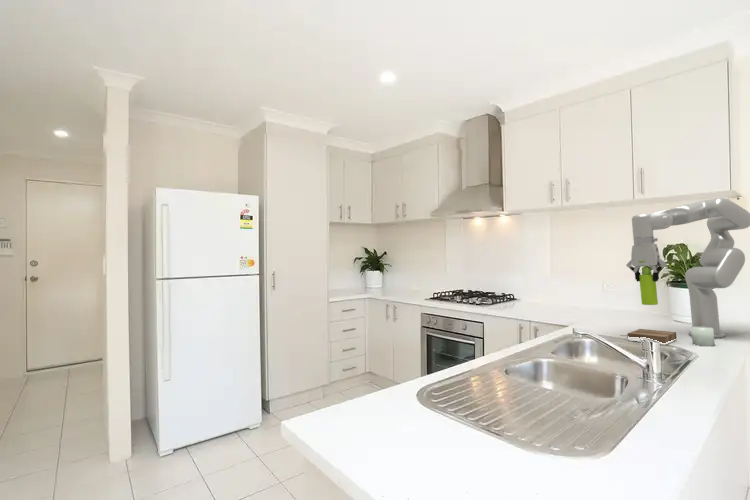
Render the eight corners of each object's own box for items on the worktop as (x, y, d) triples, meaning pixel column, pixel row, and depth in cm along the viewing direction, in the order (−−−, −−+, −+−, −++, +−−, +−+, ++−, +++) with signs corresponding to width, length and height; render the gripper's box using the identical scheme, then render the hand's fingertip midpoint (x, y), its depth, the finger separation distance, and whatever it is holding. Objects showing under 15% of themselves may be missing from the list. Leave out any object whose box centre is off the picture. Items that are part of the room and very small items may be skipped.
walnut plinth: (640, 336, 179) (639, 328, 179) (676, 340, 167) (676, 332, 168) (628, 341, 171) (627, 333, 171) (665, 345, 159) (664, 337, 159)
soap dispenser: (637, 304, 171) (633, 260, 172) (646, 303, 174) (642, 260, 175) (651, 305, 166) (647, 260, 166) (660, 303, 168) (656, 259, 169)
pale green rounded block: (695, 342, 162) (694, 325, 163) (716, 344, 157) (715, 327, 157) (690, 344, 158) (688, 328, 159) (712, 347, 153) (710, 329, 153)
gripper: (669, 239, 166) (673, 280, 165) (625, 243, 180) (629, 280, 179) (663, 240, 162) (667, 282, 161) (619, 243, 176) (622, 281, 175)
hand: (647, 280), depth 170 cm, fingers closed on soap dispenser, 5 cm apart
